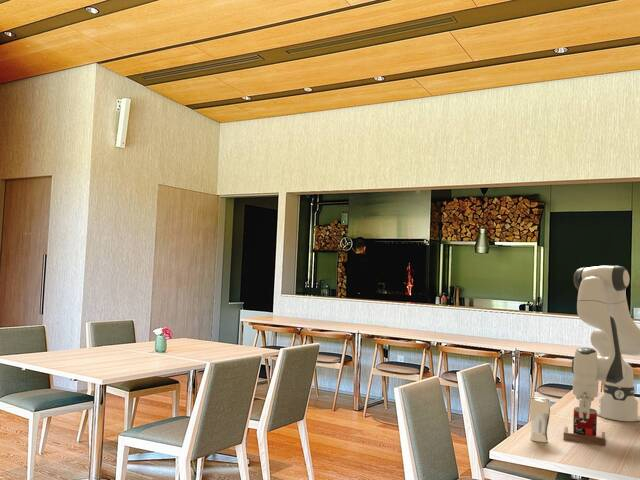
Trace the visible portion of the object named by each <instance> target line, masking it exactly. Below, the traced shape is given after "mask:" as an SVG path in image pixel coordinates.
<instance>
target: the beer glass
mask: <svg viewBox="0 0 640 480" xmlns="http://www.w3.org/2000/svg"><path fill="white" fill-rule="evenodd" d="M550 401H551V400H550V399H549V398H545V397H535V396H533V397H530V404H529V405H530V406H529V417H530V423H531V434H530V440H531V441H533V442H537V443H541V444H542V443H543V444H544V443H545V444H546V443H548V442H549V437H548V427H549V422H550V417H551V403H550Z"/></svg>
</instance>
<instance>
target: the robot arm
mask: <svg viewBox="0 0 640 480" xmlns="http://www.w3.org/2000/svg"><path fill="white" fill-rule="evenodd" d="M573 284H574V287H575V288H576V290H577V292H578V293H577V301H576V312H577V316H578V318H580V319H579V320H581V321H582V322H583V323H585V324H586V325H588V326H590V327H592V328H594V330H592V332H591V334H590V343H591V345H592V347H593V348H590V347H579V348H576V349H575V351H574V358H572V360H571V373H573V376H574V377H573V380H572V394H573V395H574V396H575V398H576V400H578V402H579V403H578V407H579V417H580V418H583V411H585V412H587V415H586V418H587V419H588V418H589V412H590V408H591V406H592V402H593V401H594V402H595V398H598V396H599V392H598V391H599V390H598V389H599V383H598V382H599V381H600V382H605V383H604V384H603V391H604V393H603V394H602V395H601V396H600V398H599V400H598V403H599V405H598V407H599V409H598V410H596V411H597V416H598V417H602V418H604V419H609V420H614V421H620V422H640V415H639V400H637V399H636V398H635V386H634V369H633V367H632V366H631V365H630V364H629V363H627V362H626V361H625V360H624V358H623V355H627V356H634V357H636V356H637V357H638V356H639V357H640V328H639V326H638V325H637V324H636V323H635V321H634V320H633V318H632V316H631V313H630V310H629V305H628V299H627V294H626V291H625V290H626V289H627V288H628V287H629V285H630V274H629V271H628V270H627V269H626V268H625V266H622V265H621V266H620V265H599V266H590V267H587V266H586V267H585V266H583V267H580V268H578V269H576V271H575V272H574V273H573ZM597 352H598V353H599V355H598V353H597Z"/></svg>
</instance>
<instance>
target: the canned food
mask: <svg viewBox="0 0 640 480" xmlns="http://www.w3.org/2000/svg"><path fill="white" fill-rule="evenodd" d="M597 411H598V410H596V409H594V408H591V407H590V412H589V418H588V419H587V418H586V415H587V412H585V411H583V418H580V417H579V406H576V407H574V408H573V422H572V423H573V425H572V426H573V427H572V428H573V431H572V432H573V434H580V435H587V436H594V437H597V425H598V424H597V420H598V417H597V416H598V415H597Z"/></svg>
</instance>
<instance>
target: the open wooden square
mask: <svg viewBox="0 0 640 480" xmlns="http://www.w3.org/2000/svg"><path fill="white" fill-rule="evenodd" d="M568 428H569V426H564V429H563V440H564V441H572V442H577V443H578V442H579V443H584V444H585V443H586V444H591V445H598V446H604V447H605V446H606V433H605V431H601V436H596V437H594V436H587V435H580V434H573V433H572V432H568V431H569V430H568Z"/></svg>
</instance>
